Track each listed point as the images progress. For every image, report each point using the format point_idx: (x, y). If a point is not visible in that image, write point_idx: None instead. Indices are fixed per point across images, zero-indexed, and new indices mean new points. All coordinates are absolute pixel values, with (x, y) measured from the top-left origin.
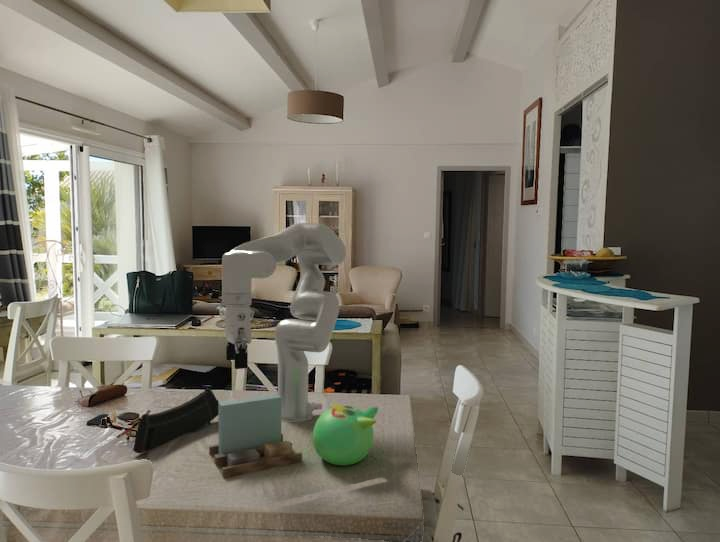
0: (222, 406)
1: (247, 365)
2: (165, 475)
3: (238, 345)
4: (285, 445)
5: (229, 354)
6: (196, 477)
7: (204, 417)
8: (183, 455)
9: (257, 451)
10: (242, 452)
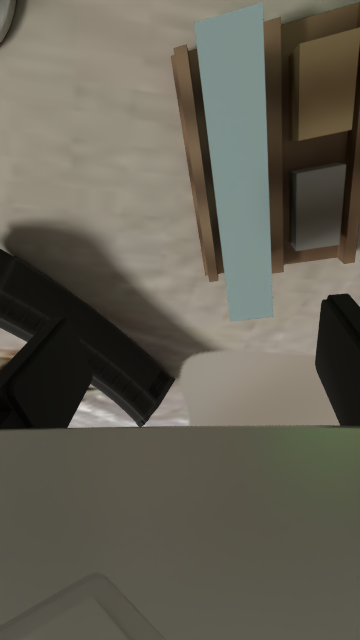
0: (272, 311)
1: (352, 299)
2: (261, 344)
3: (2, 387)
4: (340, 56)
5: (74, 392)
6: (295, 298)
7: (31, 281)
8: (184, 315)
9: (281, 162)
10: (306, 212)
